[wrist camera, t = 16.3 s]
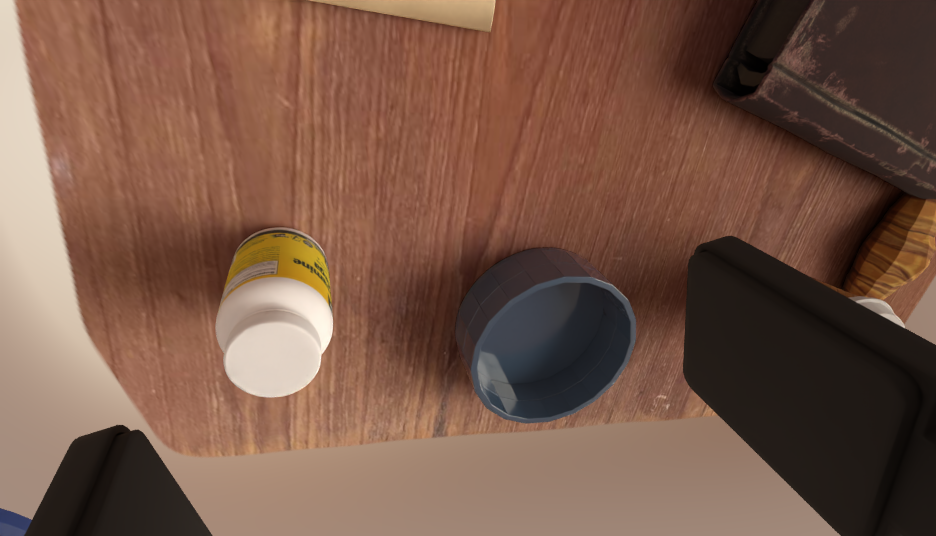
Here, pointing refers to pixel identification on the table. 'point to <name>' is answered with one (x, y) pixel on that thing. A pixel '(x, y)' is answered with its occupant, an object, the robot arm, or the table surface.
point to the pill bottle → (275, 312)
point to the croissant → (895, 249)
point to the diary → (845, 81)
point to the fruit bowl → (543, 335)
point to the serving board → (430, 10)
